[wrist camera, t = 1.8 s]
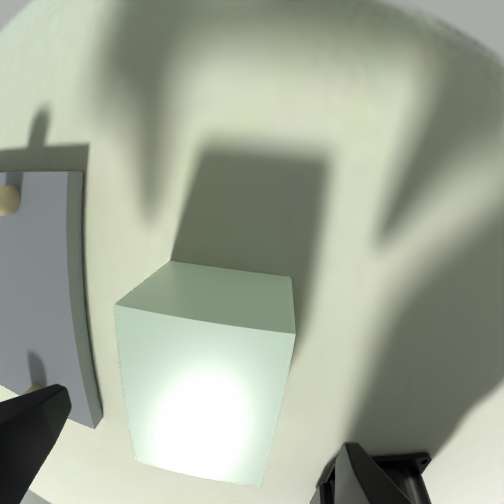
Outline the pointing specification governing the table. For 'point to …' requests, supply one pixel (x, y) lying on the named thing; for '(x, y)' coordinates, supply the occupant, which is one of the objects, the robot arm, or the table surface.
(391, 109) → the table surface
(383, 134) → the table surface
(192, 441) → the board block
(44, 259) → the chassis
